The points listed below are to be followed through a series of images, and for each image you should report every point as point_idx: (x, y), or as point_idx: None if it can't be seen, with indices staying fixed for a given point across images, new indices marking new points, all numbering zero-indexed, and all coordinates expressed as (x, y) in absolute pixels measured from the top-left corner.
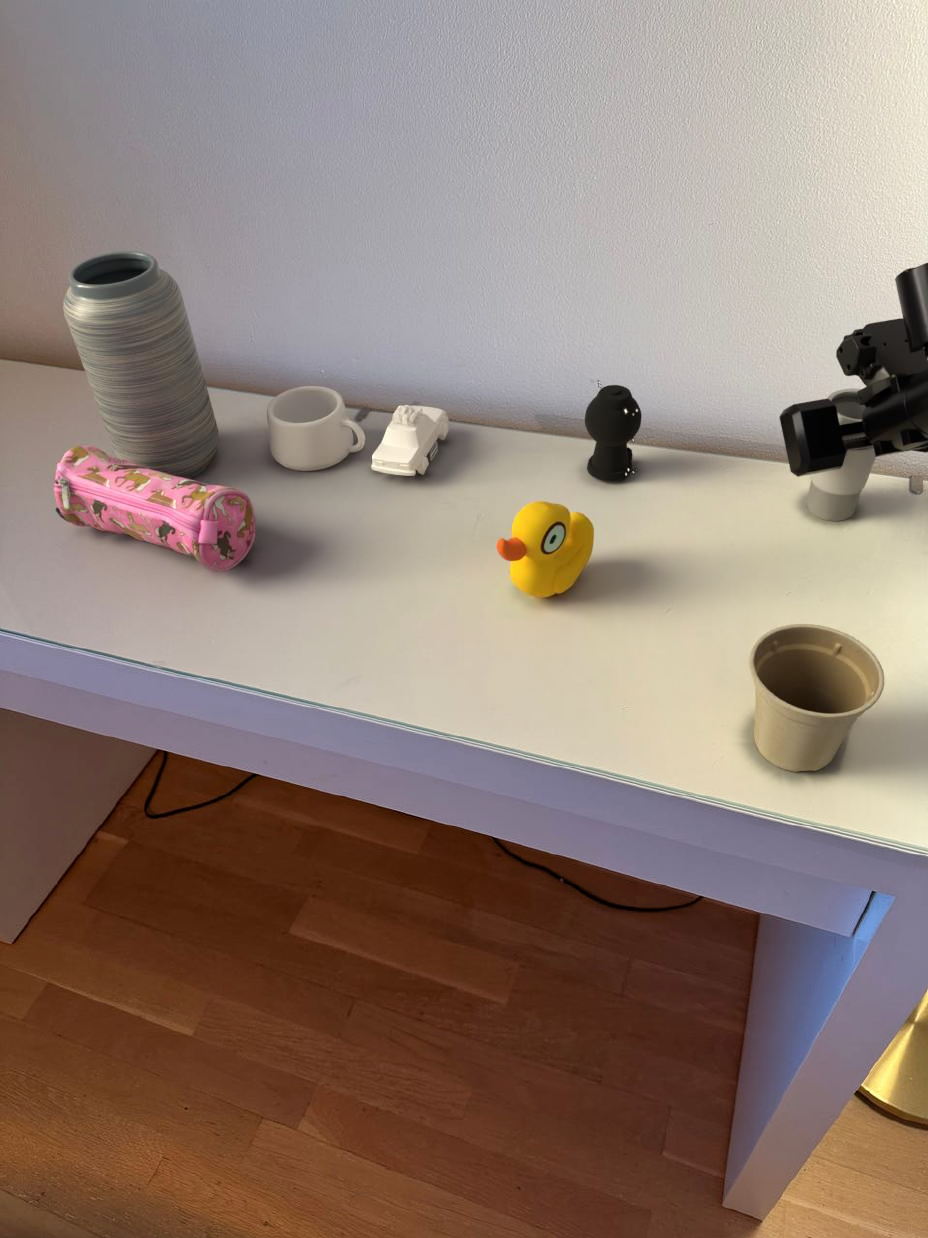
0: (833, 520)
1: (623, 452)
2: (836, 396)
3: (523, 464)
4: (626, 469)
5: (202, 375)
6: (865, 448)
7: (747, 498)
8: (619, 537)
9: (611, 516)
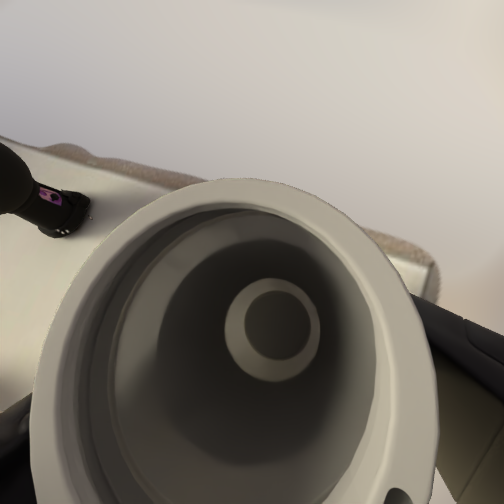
0: (268, 359)
1: (37, 213)
2: (158, 229)
3: None
4: (63, 226)
5: None
6: (254, 468)
7: None
8: (23, 336)
9: (35, 295)
